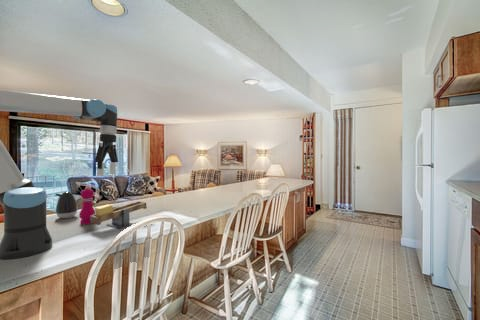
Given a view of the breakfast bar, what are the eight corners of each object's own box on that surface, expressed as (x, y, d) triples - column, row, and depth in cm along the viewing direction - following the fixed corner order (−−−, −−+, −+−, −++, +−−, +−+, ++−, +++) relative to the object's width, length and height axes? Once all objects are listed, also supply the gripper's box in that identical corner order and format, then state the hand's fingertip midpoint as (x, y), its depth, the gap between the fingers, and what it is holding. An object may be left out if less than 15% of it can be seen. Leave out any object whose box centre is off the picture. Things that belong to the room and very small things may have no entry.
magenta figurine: (82, 225, 115) (82, 187, 115) (77, 223, 120) (77, 186, 120) (97, 222, 121) (97, 185, 121) (92, 220, 126) (92, 184, 125)
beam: (98, 225, 104) (97, 217, 104) (90, 222, 108) (89, 215, 107) (146, 208, 126) (146, 202, 126) (138, 206, 130) (138, 200, 129)
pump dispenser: (58, 216, 133) (58, 191, 133) (79, 214, 138) (79, 190, 137) (52, 220, 124) (52, 193, 124) (75, 218, 128) (75, 192, 128)
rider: (100, 217, 106) (99, 208, 106) (96, 216, 108) (95, 207, 108) (113, 213, 111) (112, 205, 111) (108, 212, 113) (107, 204, 113)
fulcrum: (119, 229, 110) (119, 211, 110) (106, 225, 116) (106, 208, 116) (134, 224, 117) (134, 207, 117) (121, 221, 123) (121, 205, 123)
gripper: (104, 131, 105) (102, 176, 105) (125, 137, 130) (123, 173, 130) (87, 130, 104) (85, 176, 104) (111, 136, 129) (110, 173, 129)
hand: (106, 174), depth 117 cm, fingers open, 13 cm apart
